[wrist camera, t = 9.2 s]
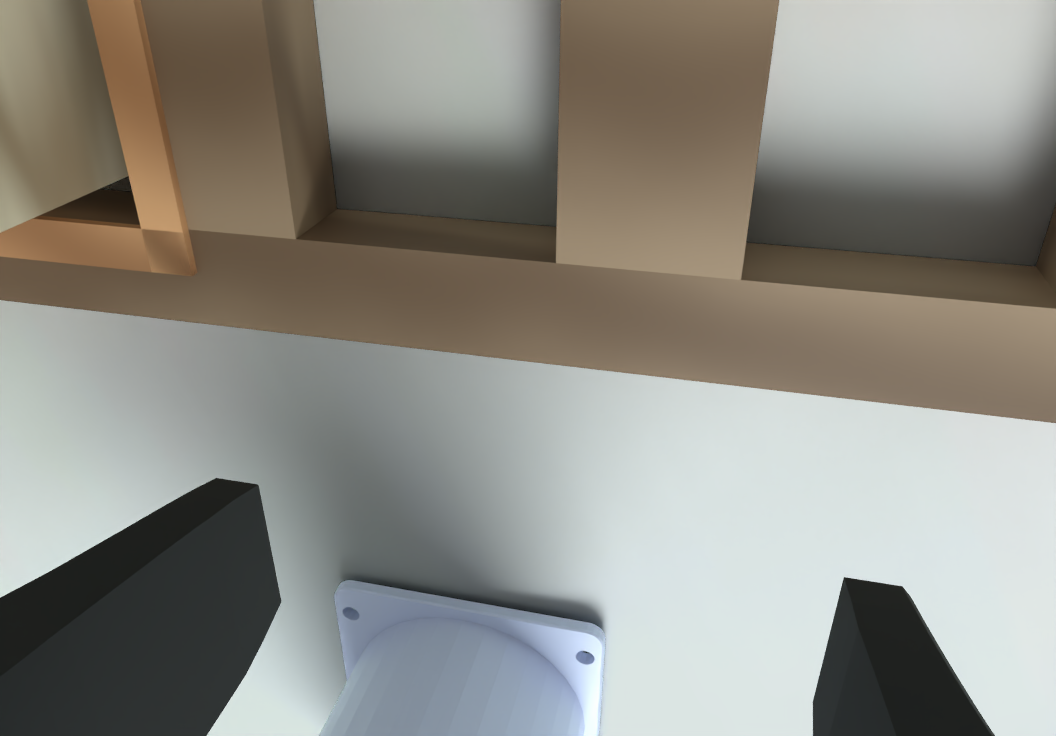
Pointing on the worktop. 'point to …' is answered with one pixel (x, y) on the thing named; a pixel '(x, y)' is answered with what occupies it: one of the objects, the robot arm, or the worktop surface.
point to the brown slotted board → (520, 249)
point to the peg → (52, 110)
